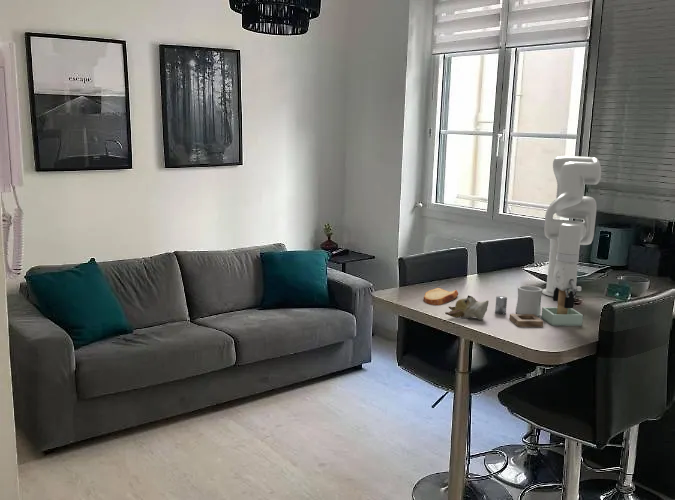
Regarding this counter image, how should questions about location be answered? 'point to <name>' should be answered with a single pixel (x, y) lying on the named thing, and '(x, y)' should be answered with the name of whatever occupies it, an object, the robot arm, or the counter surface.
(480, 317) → the ceramic sculpture
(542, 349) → the counter surface
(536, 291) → the mug
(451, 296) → the slice of bread
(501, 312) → the bench dog
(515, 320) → the socket block
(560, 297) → the dowel
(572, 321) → the tray
